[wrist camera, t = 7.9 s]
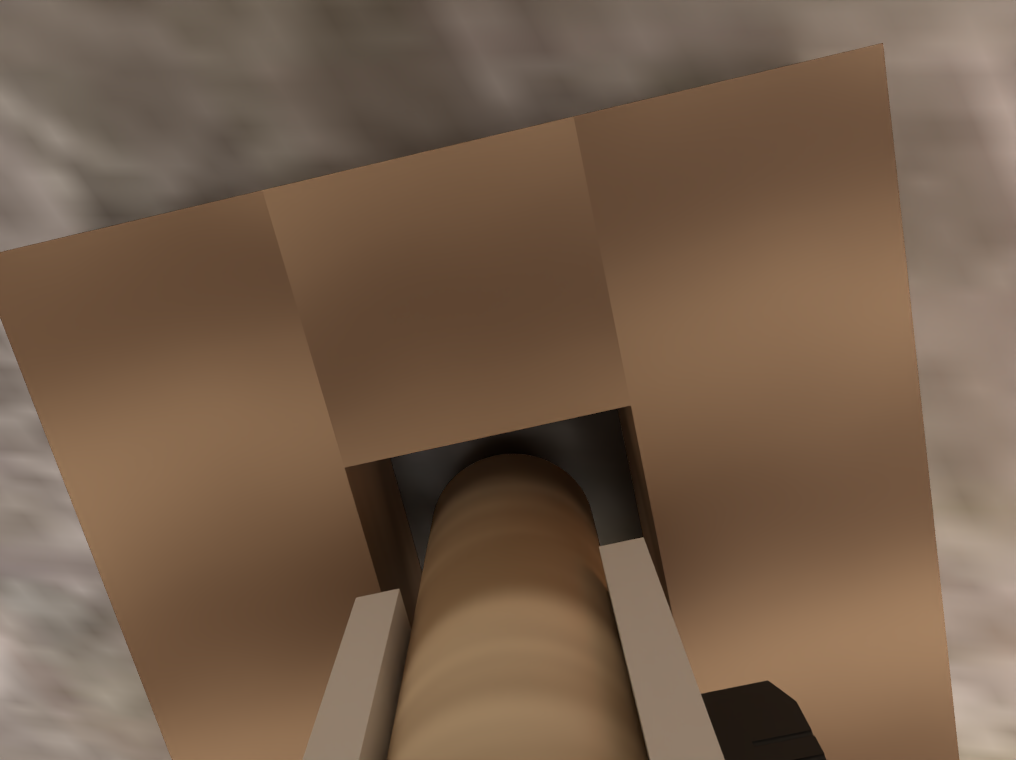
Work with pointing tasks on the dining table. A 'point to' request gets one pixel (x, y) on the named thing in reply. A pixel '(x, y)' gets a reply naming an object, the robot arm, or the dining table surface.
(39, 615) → the dining table surface
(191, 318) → the socket block
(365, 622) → the robot arm
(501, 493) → the peg
